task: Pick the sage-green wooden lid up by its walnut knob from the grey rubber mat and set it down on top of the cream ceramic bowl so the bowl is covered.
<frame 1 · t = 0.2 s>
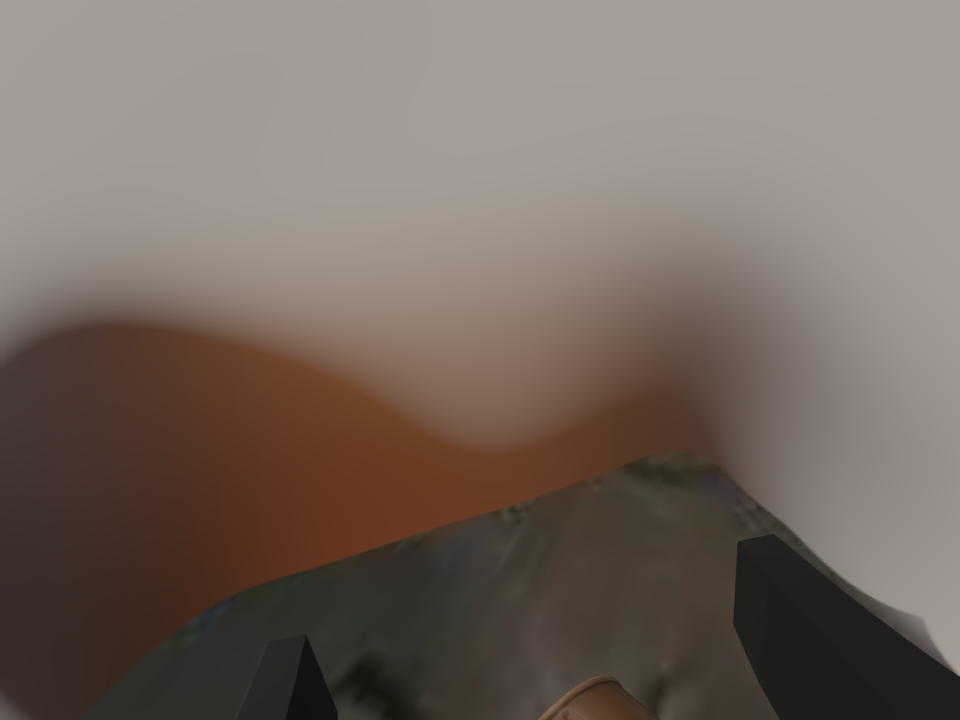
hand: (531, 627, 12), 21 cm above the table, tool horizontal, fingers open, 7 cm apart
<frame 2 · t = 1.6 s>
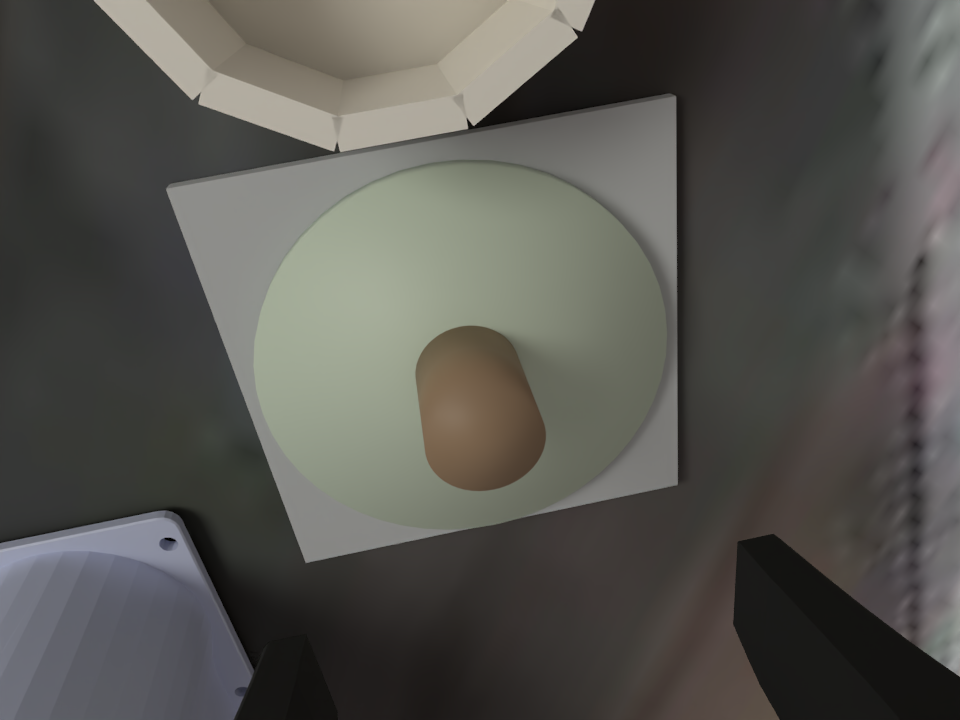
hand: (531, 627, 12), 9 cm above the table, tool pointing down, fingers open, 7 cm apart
lid: (465, 361, 20), resting on mat
mat: (463, 354, 20), on the table
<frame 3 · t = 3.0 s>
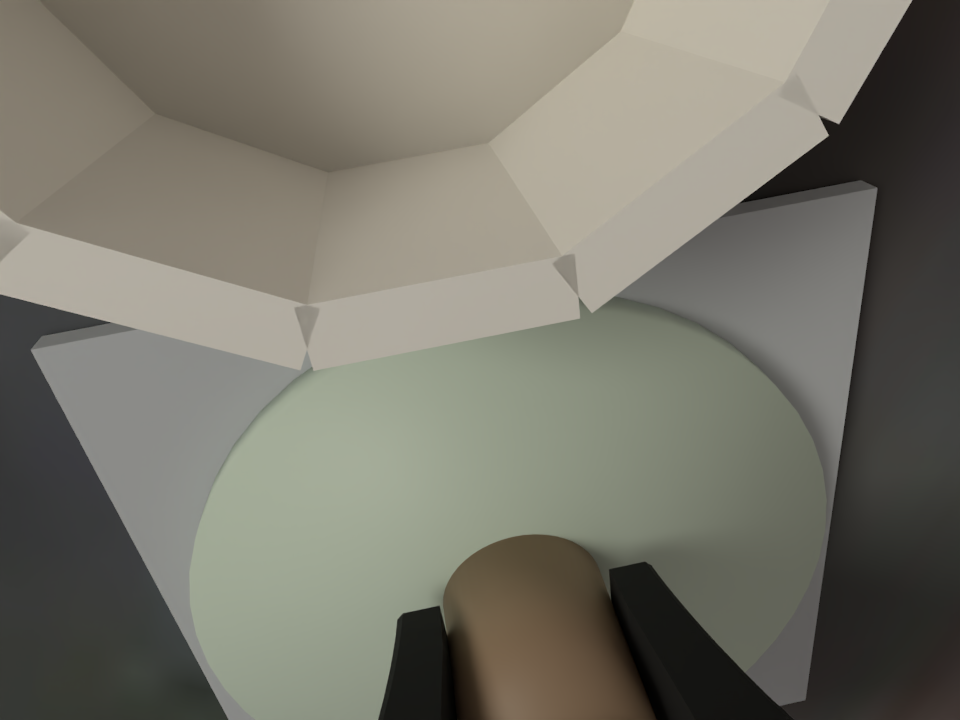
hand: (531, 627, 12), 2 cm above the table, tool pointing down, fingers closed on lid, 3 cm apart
lid: (516, 569, 13), resting on mat, touching gripper
mat: (513, 553, 13), on the table
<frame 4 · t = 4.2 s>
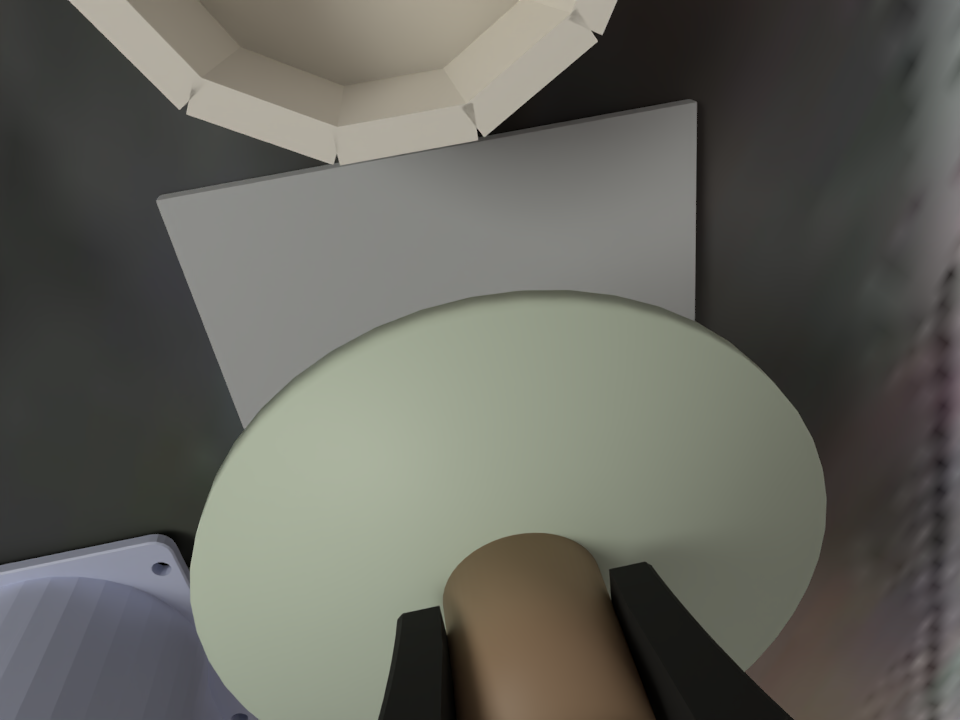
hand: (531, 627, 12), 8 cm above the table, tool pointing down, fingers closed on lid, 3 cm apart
lid: (516, 567, 13), point 7 cm above the table, touching gripper
mat: (470, 372, 19), on the table
when the fingers open (7 cm above the table, at t = 5.7 s): lid drops 2 cm, resting on bowl.
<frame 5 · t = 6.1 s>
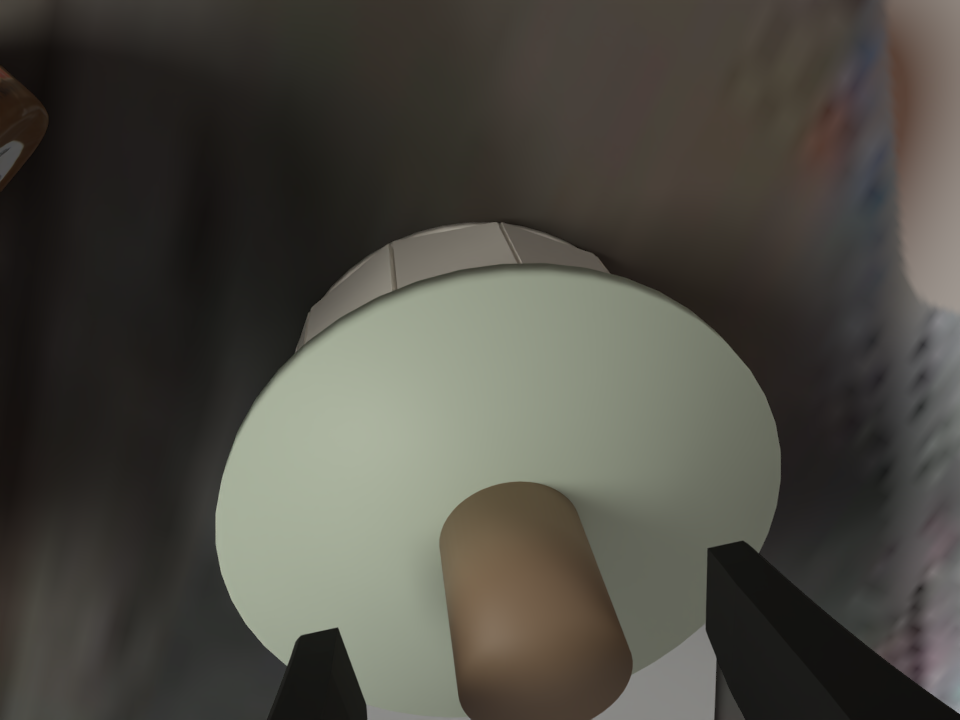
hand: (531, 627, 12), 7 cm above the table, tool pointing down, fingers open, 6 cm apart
lid: (505, 517, 15), point 4 cm above the table, touching bowl
bowl: (472, 391, 18), on the table, touching lid
mat: (538, 675, 24), on the table
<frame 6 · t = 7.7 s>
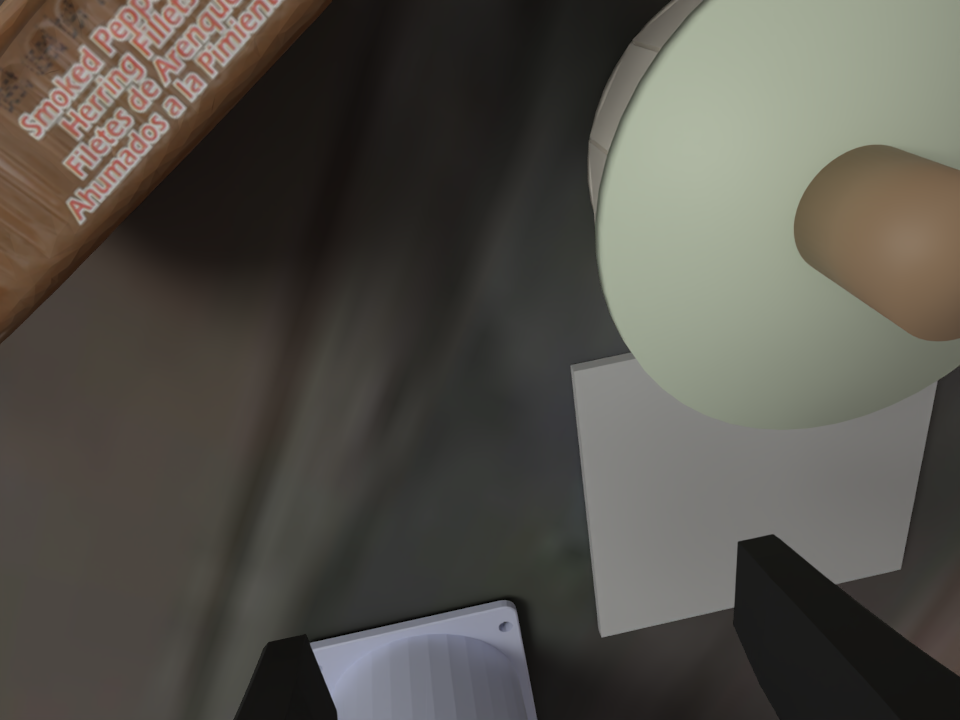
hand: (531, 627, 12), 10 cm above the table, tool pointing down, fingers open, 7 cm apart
tin: (220, 3, 16), on the table
lid: (841, 204, 16), point 4 cm above the table, touching bowl
bowl: (748, 148, 19), on the table, touching lid
mat: (753, 476, 25), on the table
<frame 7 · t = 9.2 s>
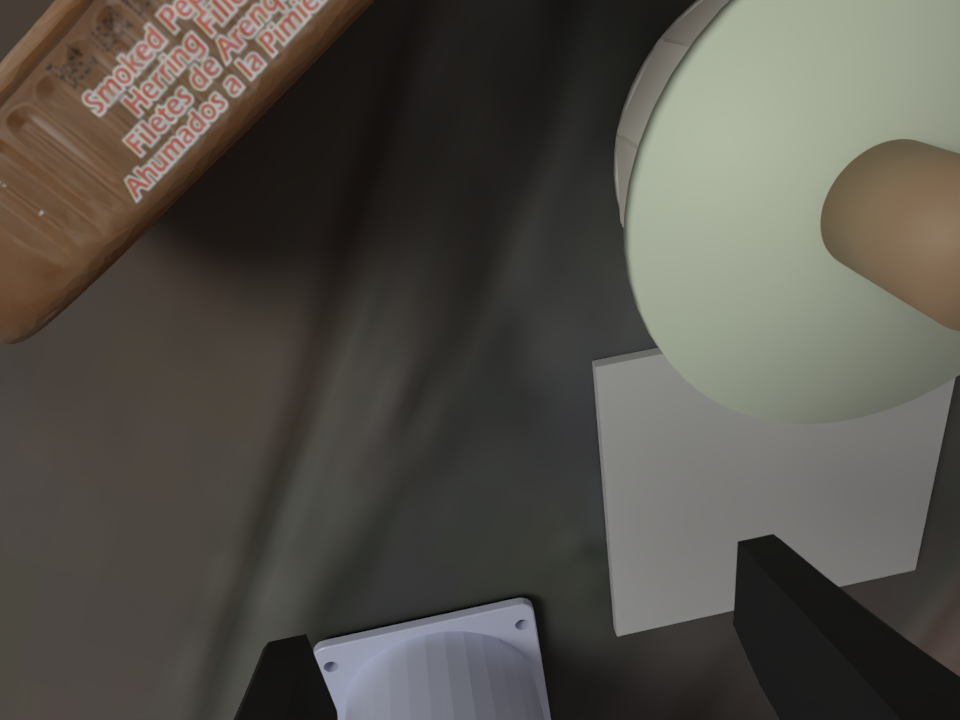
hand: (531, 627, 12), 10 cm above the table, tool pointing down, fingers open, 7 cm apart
lid: (866, 198, 16), point 4 cm above the table, touching bowl
bowl: (772, 145, 20), on the table, touching lid
mat: (770, 474, 25), on the table
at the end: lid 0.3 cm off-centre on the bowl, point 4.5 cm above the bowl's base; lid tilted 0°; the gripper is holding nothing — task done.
